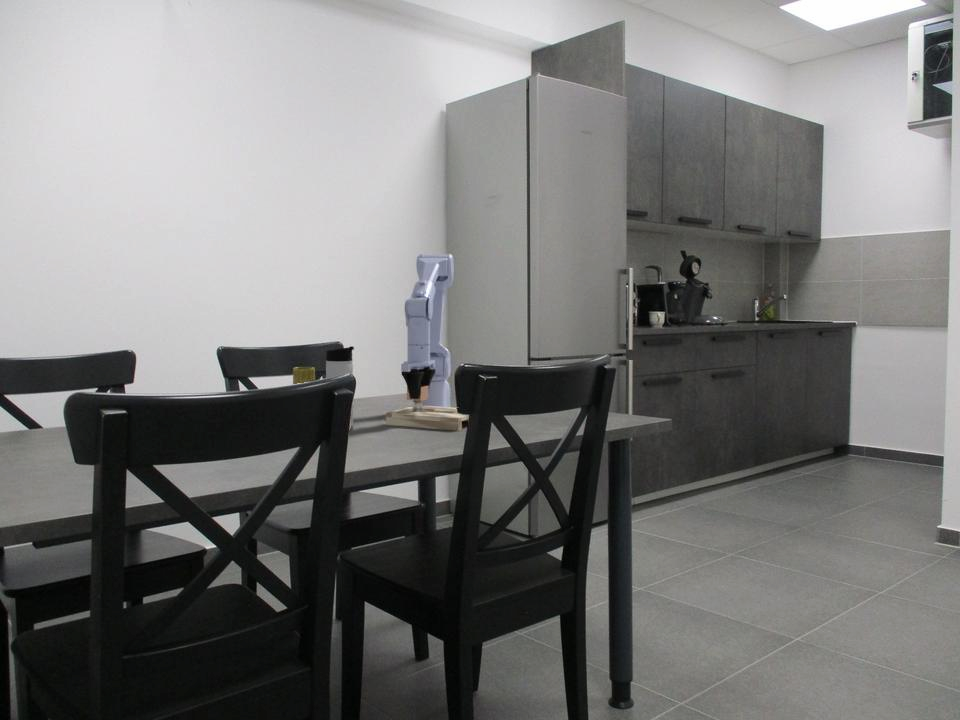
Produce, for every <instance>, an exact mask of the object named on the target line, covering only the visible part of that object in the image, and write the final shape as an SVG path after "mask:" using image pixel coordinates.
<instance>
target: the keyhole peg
mask: <svg viewBox="0 0 960 720" xmlns="http://www.w3.org/2000/svg"><path fill="white" fill-rule="evenodd" d="M427 399H428V386H427V385H420V394H419V399H410V395H409V391H408V387H407V386H406V400H407V401H412V406H413V412H422V400H427ZM423 413H424V412H423Z"/></svg>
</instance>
